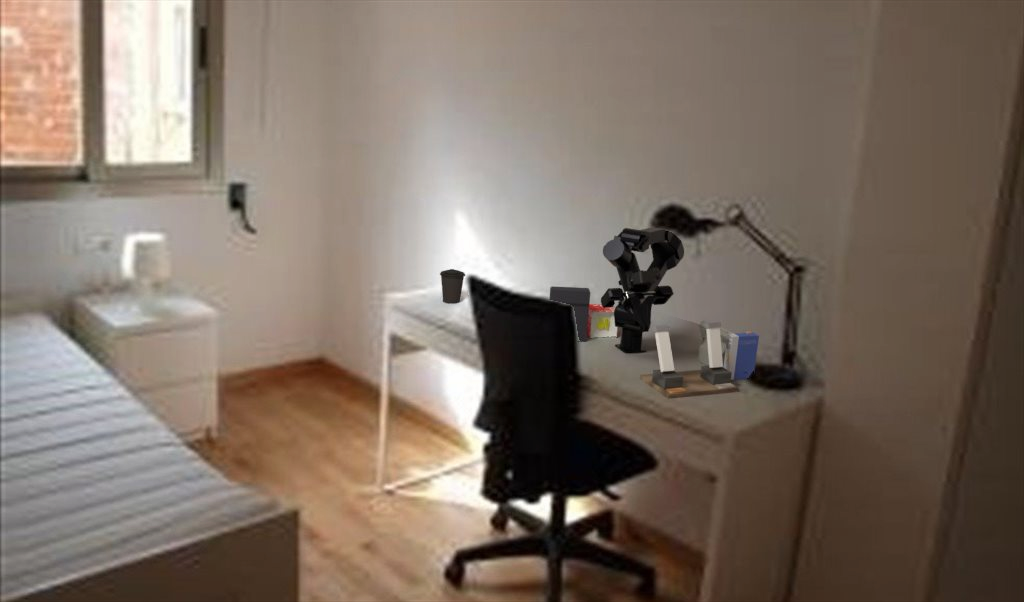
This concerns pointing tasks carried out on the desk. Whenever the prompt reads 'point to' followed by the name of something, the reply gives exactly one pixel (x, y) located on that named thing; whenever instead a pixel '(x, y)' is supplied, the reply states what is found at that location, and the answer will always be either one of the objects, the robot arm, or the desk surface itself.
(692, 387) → the switch board
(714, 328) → the lever
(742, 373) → the walkman
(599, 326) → the red and white cube
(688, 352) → the desk surface
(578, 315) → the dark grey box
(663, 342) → the lever
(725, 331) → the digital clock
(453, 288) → the coffee cup
